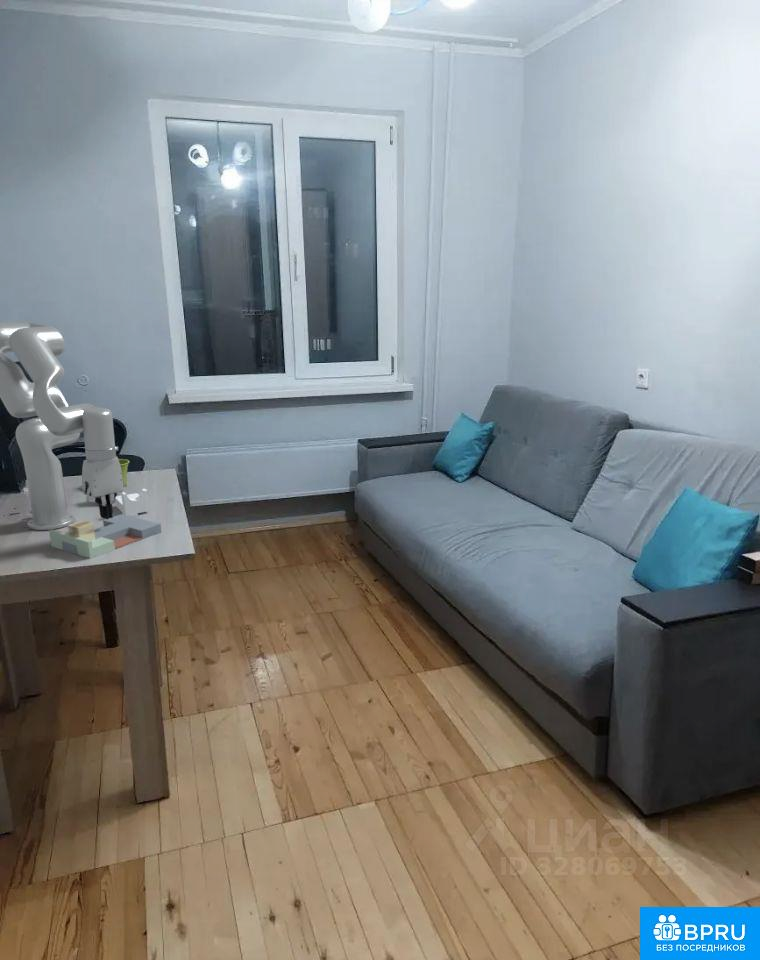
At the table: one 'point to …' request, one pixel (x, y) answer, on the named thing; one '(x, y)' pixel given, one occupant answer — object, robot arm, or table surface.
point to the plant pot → (124, 470)
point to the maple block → (82, 530)
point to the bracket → (132, 503)
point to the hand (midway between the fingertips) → (106, 517)
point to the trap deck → (106, 536)
